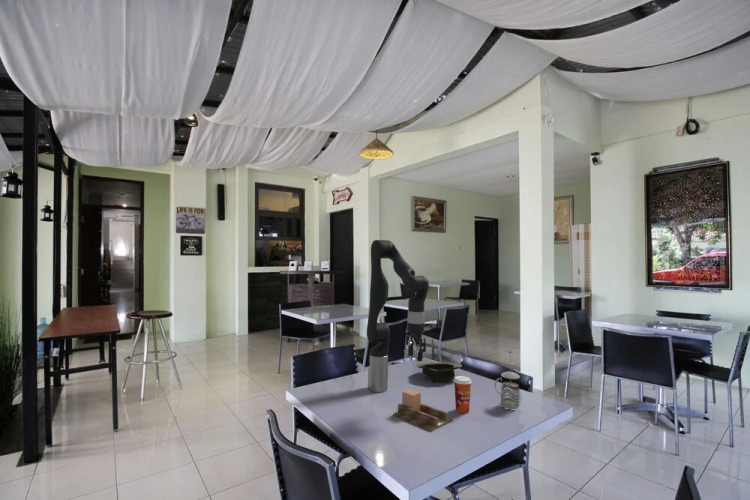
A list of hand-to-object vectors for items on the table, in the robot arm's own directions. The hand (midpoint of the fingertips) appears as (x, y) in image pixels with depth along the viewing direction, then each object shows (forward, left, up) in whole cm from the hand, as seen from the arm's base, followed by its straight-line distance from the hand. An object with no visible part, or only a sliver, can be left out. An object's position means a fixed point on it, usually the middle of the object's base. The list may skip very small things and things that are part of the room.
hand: (415, 358), depth 164 cm
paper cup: (+15, +15, -23) cm, 31 cm away
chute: (+8, -4, -22) cm, 24 cm away
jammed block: (+2, -4, -21) cm, 22 cm away
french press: (+26, +35, -23) cm, 49 cm away
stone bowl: (-20, +45, -23) cm, 54 cm away
